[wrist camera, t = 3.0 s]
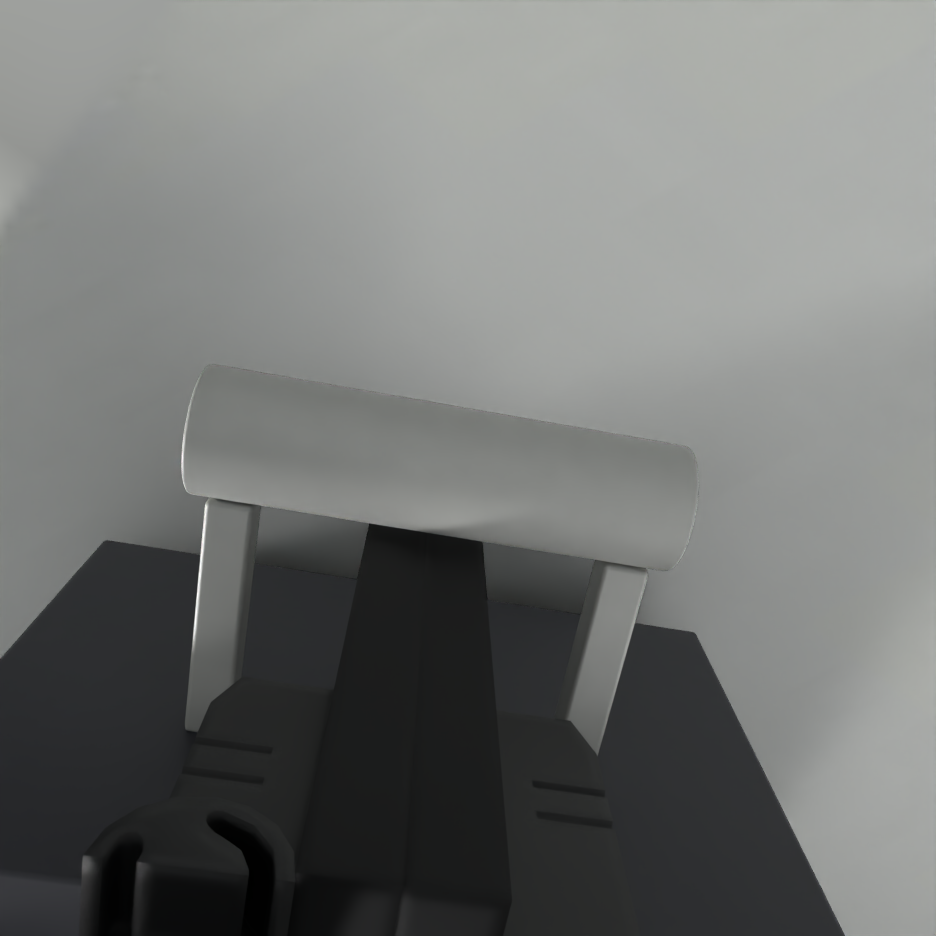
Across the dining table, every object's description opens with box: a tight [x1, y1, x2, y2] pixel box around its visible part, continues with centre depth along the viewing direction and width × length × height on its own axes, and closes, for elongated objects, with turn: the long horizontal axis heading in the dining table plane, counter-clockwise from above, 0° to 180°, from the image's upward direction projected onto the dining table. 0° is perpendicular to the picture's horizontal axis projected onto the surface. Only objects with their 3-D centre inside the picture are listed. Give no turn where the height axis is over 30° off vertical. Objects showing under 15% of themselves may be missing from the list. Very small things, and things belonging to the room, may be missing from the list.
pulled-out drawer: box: [0, 364, 845, 936], centre depth 15 cm, size 18×11×8 cm, turn 170°
